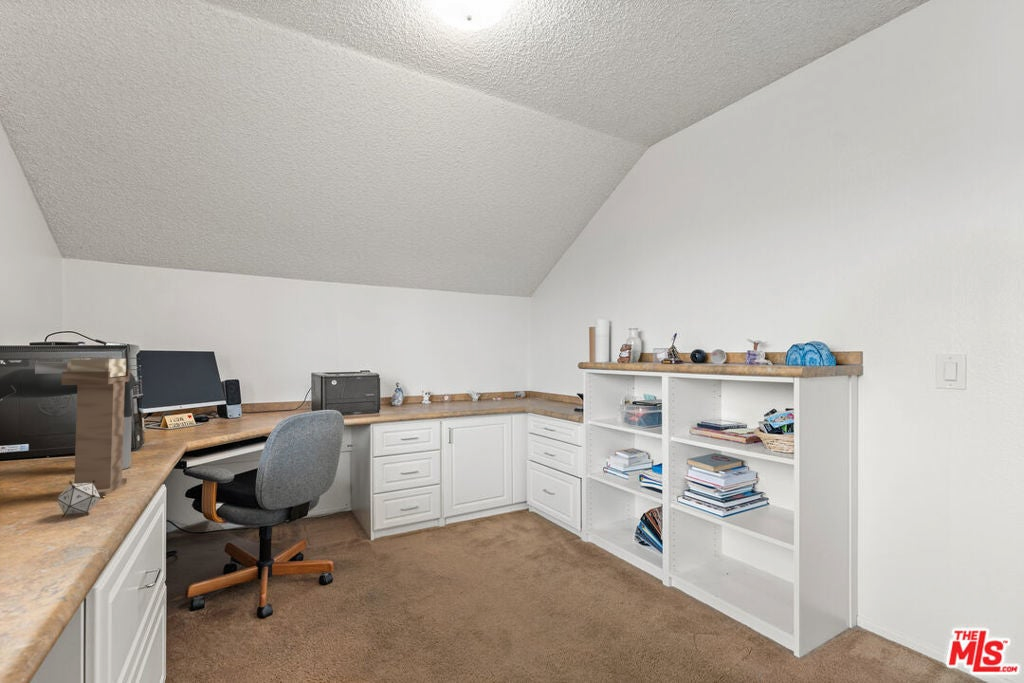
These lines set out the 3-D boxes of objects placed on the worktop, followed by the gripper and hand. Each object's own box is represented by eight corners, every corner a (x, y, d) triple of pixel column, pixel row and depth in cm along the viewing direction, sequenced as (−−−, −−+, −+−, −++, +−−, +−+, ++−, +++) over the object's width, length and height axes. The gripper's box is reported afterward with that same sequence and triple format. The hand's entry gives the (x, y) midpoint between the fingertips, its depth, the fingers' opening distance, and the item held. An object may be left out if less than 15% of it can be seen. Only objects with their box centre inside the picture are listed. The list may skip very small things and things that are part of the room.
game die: (78, 532, 115) (64, 506, 110) (52, 517, 117) (37, 490, 111) (116, 504, 122) (105, 479, 117) (91, 490, 124) (79, 464, 119)
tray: (49, 375, 137) (50, 358, 137) (125, 375, 144) (126, 358, 144) (24, 378, 126) (25, 359, 126) (108, 377, 132) (108, 359, 132)
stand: (84, 486, 141) (88, 369, 142) (126, 483, 144) (129, 369, 145) (57, 501, 127) (61, 371, 128) (104, 497, 130) (108, 371, 131)
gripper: (-101, 413, 117) (-23, 379, 122) (-57, 406, 130) (11, 376, 135) (-81, 439, 118) (-5, 404, 123) (-40, 430, 131) (28, 399, 136)
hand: (4, 389), depth 129 cm, fingers open, 8 cm apart
